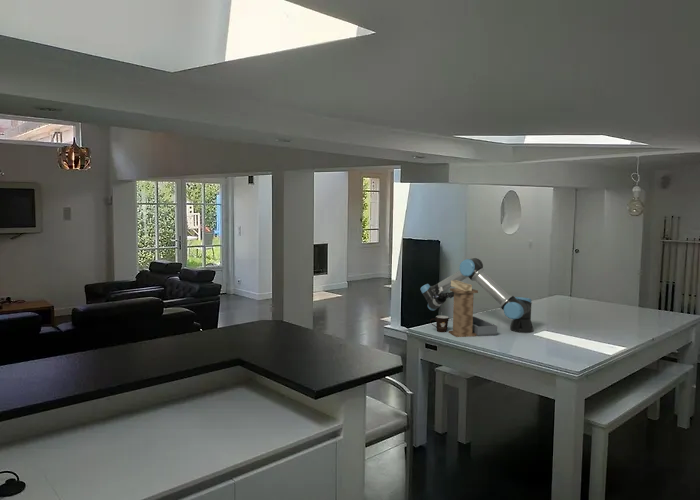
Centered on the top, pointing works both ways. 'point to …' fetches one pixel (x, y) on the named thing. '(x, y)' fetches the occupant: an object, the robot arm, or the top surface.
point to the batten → (461, 285)
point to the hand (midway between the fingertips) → (451, 288)
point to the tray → (483, 327)
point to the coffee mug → (441, 323)
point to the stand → (463, 313)
